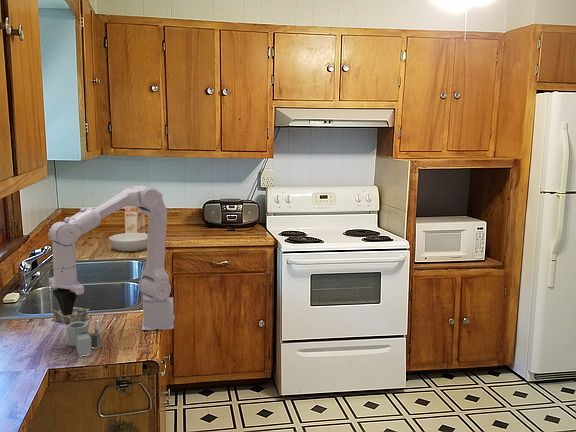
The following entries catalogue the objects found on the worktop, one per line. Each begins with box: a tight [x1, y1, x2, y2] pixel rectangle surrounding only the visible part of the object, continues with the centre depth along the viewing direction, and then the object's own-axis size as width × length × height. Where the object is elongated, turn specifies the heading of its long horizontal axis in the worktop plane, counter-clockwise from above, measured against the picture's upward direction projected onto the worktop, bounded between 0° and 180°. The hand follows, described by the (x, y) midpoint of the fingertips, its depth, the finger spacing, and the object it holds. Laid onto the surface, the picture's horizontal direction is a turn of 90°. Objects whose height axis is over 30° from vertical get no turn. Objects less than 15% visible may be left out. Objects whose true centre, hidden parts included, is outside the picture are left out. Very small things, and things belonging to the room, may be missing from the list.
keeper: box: [81, 332, 101, 348], centre depth 150 cm, size 2×5×4 cm, turn 78°
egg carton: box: [50, 306, 90, 324], centre depth 172 cm, size 11×8×4 cm
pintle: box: [93, 318, 102, 341], centre depth 155 cm, size 2×2×6 cm
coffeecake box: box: [124, 206, 146, 233], centre depth 297 cm, size 15×7×20 cm, turn 179°
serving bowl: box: [108, 232, 148, 252], centre depth 272 cm, size 21×21×7 cm
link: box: [66, 321, 92, 357], centre depth 150 cm, size 13×5×5 cm, turn 31°
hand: (67, 314), depth 148 cm, fingers closed
